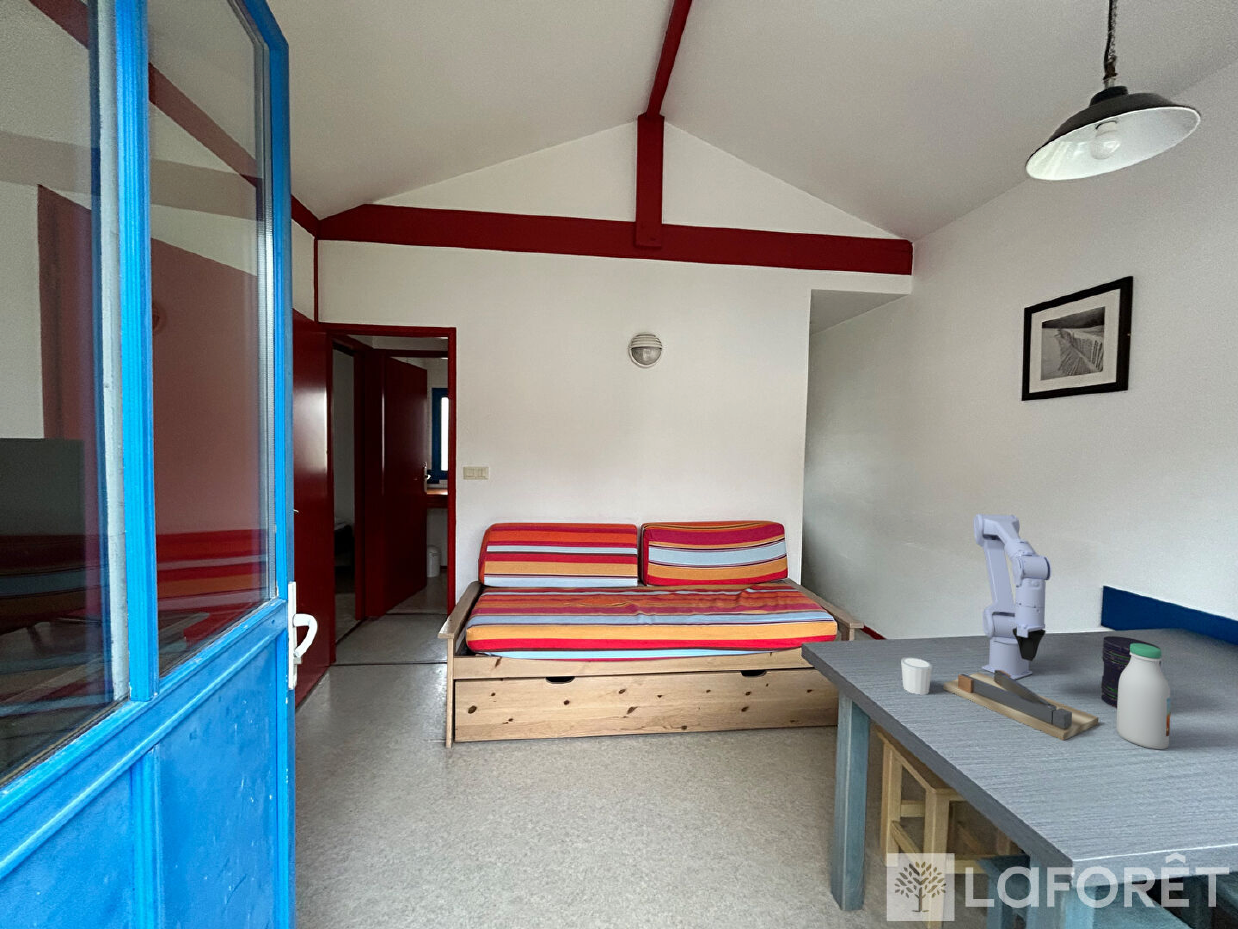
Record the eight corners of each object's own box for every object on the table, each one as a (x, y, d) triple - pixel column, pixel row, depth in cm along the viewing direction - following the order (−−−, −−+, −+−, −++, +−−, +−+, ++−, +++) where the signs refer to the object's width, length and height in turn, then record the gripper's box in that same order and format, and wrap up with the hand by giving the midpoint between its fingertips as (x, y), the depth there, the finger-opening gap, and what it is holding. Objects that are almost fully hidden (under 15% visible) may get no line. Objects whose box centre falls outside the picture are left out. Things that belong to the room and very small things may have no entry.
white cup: (936, 697, 125) (936, 669, 125) (905, 694, 127) (906, 667, 126) (925, 684, 132) (925, 658, 132) (896, 682, 133) (897, 656, 133)
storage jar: (1101, 691, 129) (1103, 633, 128) (1158, 705, 122) (1160, 643, 121) (1099, 705, 122) (1101, 643, 121) (1159, 720, 115) (1162, 655, 114)
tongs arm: (1002, 681, 130) (1002, 670, 130) (1060, 721, 111) (1061, 708, 111) (993, 681, 130) (993, 670, 130) (1049, 721, 111) (1049, 707, 111)
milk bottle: (1160, 755, 102) (1164, 657, 101) (1109, 735, 109) (1113, 643, 108) (1175, 744, 106) (1178, 650, 105) (1125, 726, 112) (1128, 637, 112)
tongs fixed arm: (967, 684, 129) (967, 672, 129) (1071, 726, 109) (1072, 712, 109) (957, 687, 127) (958, 675, 127) (1061, 730, 108) (1062, 716, 108)
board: (978, 678, 136) (978, 672, 136) (1098, 724, 113) (1098, 717, 113) (943, 689, 129) (943, 683, 129) (1063, 740, 107) (1063, 733, 107)
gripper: (1017, 595, 133) (1015, 646, 134) (1002, 606, 124) (1000, 661, 124) (1051, 601, 128) (1050, 654, 128) (1039, 613, 118) (1037, 671, 119)
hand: (1028, 658), depth 126 cm, fingers closed
